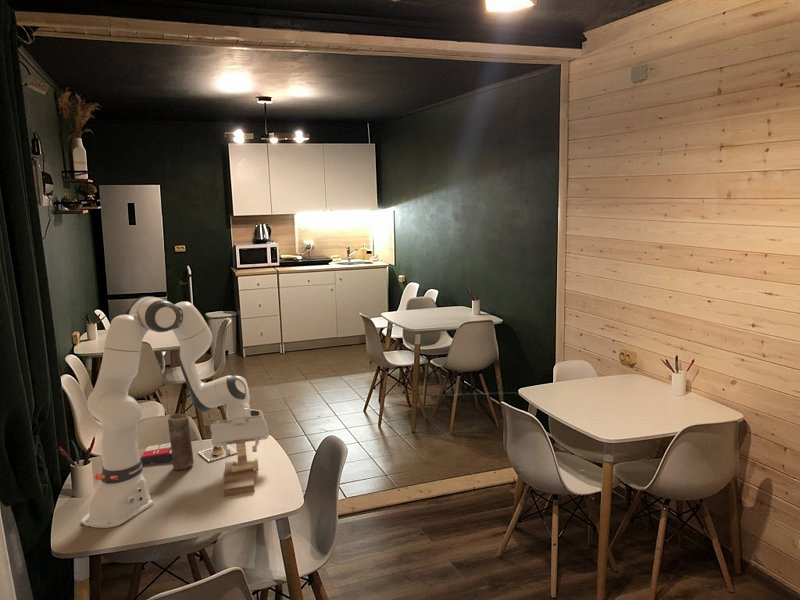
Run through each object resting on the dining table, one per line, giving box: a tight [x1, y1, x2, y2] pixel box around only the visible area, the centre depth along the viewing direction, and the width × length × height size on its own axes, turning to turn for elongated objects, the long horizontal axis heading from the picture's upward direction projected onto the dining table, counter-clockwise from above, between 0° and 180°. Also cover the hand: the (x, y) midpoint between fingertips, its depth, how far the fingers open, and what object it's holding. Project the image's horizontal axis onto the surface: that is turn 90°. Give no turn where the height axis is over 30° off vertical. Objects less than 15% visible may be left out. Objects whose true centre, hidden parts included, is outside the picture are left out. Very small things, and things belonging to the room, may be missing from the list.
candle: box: [167, 413, 195, 471], centre depth 235 cm, size 8×7×20 cm
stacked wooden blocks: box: [231, 440, 259, 473], centre depth 227 cm, size 6×9×10 cm, turn 103°
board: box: [222, 458, 256, 497], centre depth 223 cm, size 22×10×2 cm, turn 13°
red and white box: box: [140, 442, 173, 465], centre depth 246 cm, size 11×4×15 cm
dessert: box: [197, 444, 237, 463], centre depth 246 cm, size 12×12×5 cm
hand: (241, 453), depth 226 cm, fingers open, 8 cm apart
